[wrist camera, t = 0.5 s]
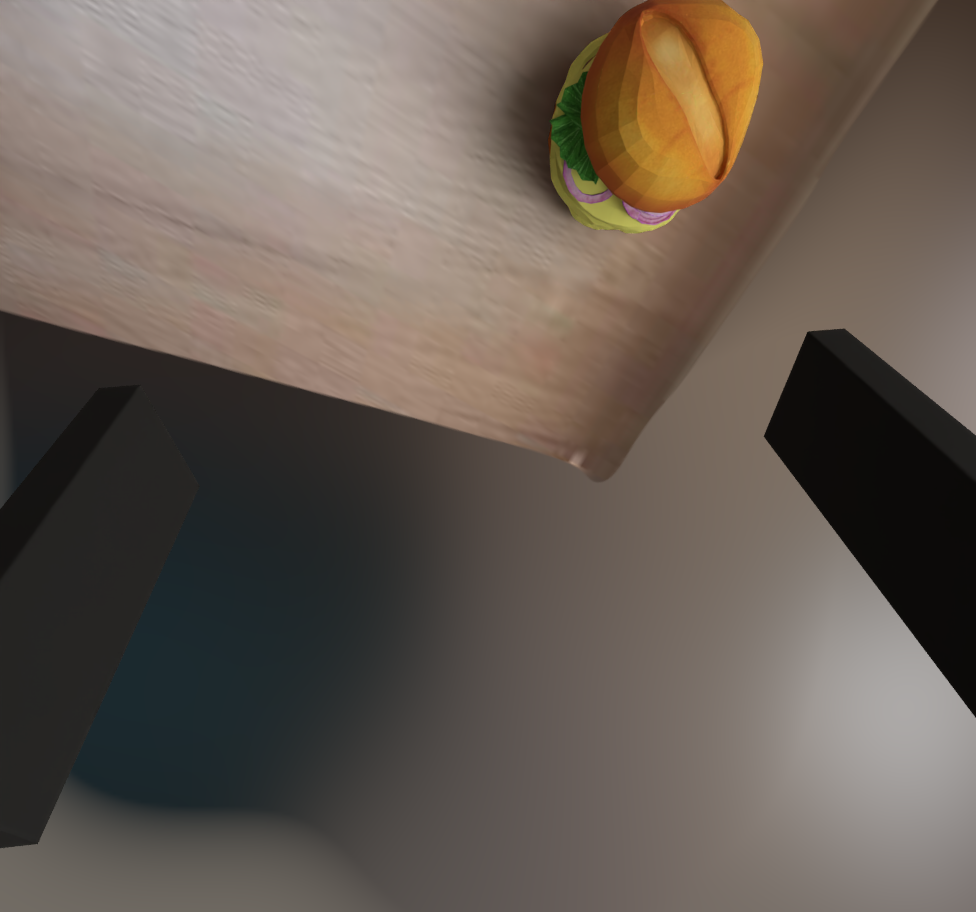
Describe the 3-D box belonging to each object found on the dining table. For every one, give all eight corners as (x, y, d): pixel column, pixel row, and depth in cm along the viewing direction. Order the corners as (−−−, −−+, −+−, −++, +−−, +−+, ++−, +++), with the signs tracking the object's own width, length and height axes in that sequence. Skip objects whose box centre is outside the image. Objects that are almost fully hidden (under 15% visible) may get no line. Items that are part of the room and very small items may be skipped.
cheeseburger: (506, 192, 33) (541, 190, 24) (577, -7, 29) (652, -97, 20) (640, 252, 36) (716, 270, 27) (722, 79, 32) (843, 32, 23)
